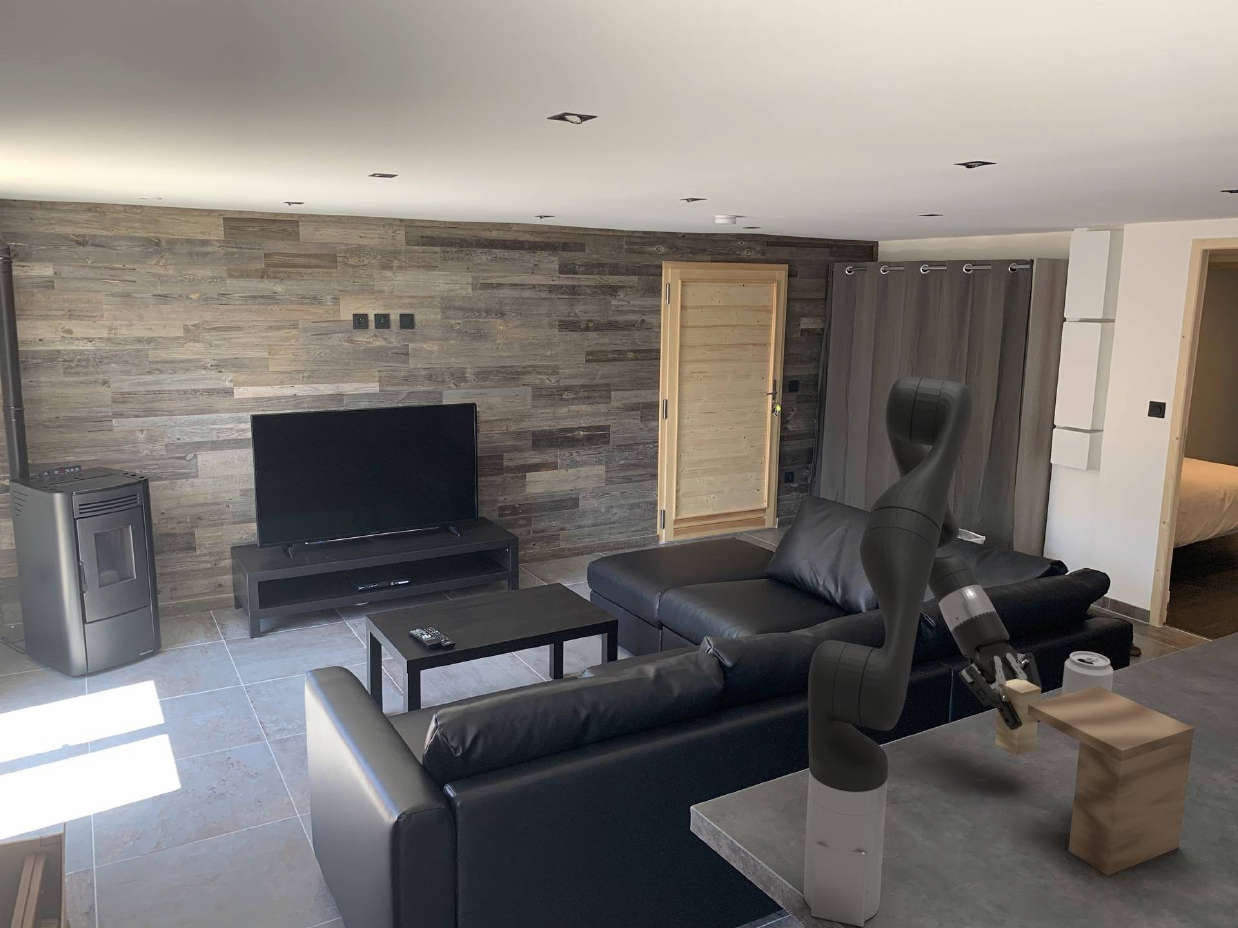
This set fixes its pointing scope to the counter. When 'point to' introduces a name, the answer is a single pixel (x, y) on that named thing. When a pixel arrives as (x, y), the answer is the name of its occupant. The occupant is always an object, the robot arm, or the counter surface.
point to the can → (1086, 672)
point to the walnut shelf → (1122, 776)
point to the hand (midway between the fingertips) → (1028, 724)
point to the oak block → (1025, 735)
